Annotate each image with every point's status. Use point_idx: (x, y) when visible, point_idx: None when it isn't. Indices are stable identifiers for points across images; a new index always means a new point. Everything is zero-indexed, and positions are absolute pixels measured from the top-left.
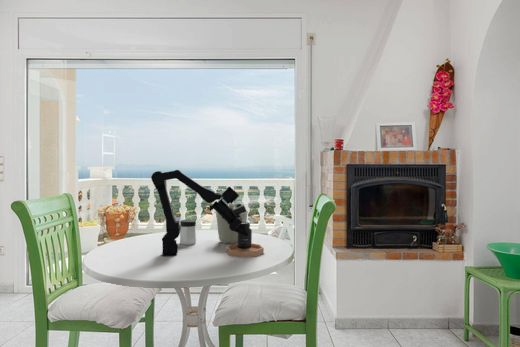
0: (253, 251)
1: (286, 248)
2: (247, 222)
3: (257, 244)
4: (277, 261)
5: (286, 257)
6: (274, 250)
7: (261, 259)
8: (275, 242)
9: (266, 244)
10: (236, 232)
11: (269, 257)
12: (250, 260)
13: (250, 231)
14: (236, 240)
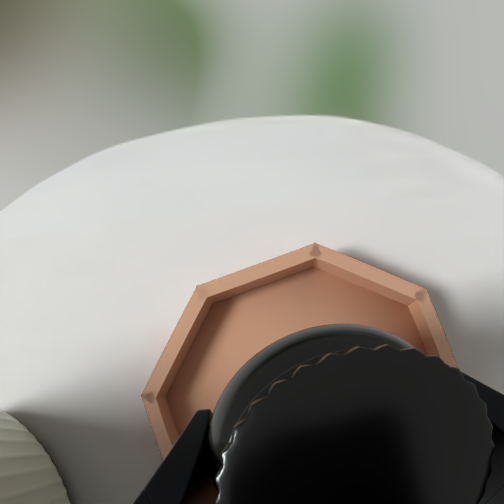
0: (433, 309)
1: (176, 139)
2: (275, 435)
3: (194, 306)
4: (467, 171)
5: (384, 129)
6: (227, 194)
7: (466, 253)
8: (37, 215)
9: (67, 262)
10: (16, 486)
11: (414, 211)
12: (498, 315)
13: (392, 334)
14: (52, 472)
